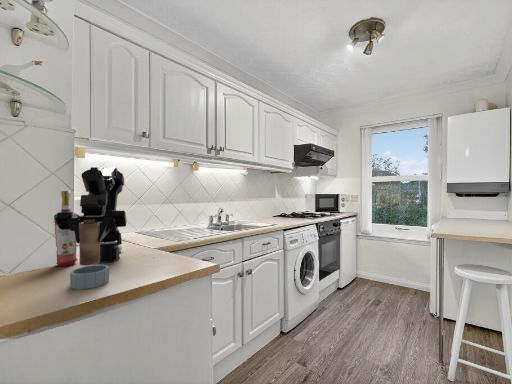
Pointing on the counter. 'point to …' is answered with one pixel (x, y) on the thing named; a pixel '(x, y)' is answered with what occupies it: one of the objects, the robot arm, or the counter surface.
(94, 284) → the blue segmented ring
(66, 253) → the liquor
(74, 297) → the counter surface
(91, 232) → the pepper mill
